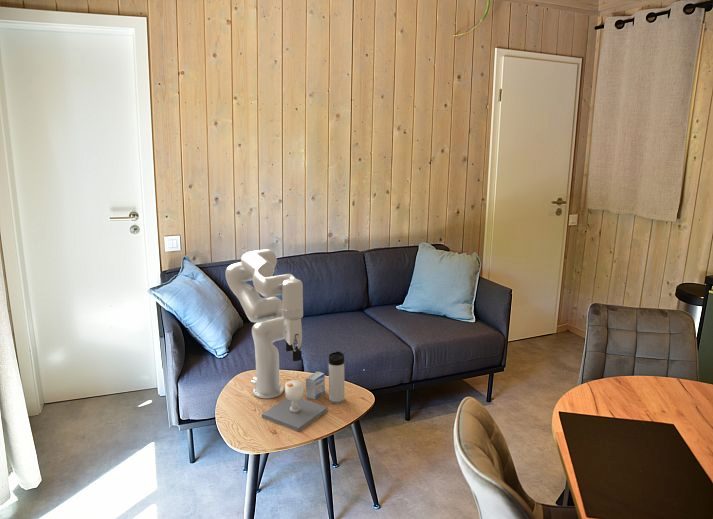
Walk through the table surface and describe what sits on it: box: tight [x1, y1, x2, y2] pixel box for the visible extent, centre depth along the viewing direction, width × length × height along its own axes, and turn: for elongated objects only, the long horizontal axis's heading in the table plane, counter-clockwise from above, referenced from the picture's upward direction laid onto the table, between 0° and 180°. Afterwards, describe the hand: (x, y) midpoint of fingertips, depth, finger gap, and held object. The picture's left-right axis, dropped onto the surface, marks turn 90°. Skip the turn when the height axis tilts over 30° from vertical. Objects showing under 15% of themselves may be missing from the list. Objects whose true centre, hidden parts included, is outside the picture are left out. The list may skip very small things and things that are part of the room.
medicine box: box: [305, 371, 326, 400], centre depth 225 cm, size 8×4×9 cm, turn 150°
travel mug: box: [328, 350, 345, 405], centre depth 219 cm, size 6×7×20 cm
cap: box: [284, 379, 305, 401], centre depth 208 cm, size 7×7×6 cm
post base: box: [261, 398, 329, 432], centre depth 210 cm, size 18×18×7 cm
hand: (293, 355), depth 205 cm, fingers open, 9 cm apart
